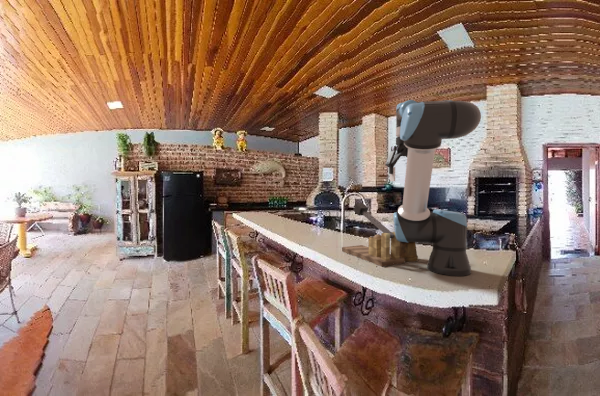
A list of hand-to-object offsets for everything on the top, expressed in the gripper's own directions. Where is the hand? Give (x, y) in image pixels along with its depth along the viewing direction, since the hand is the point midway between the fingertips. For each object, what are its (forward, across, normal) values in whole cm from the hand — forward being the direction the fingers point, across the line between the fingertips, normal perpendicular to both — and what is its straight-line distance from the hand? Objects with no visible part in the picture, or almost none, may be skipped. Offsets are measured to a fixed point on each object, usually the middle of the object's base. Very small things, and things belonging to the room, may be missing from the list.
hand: (403, 181), depth 144 cm
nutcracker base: (+35, +19, 0) cm, 40 cm away
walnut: (+28, +19, +5) cm, 34 cm away
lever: (+20, +19, +1) cm, 27 cm away
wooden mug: (+35, +5, +10) cm, 37 cm away
